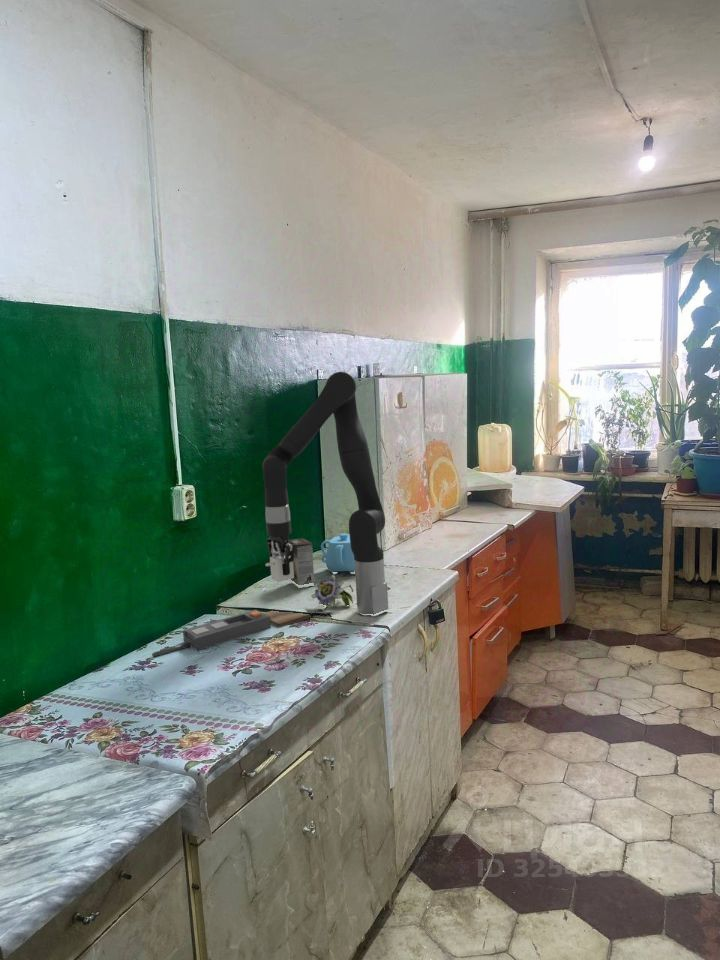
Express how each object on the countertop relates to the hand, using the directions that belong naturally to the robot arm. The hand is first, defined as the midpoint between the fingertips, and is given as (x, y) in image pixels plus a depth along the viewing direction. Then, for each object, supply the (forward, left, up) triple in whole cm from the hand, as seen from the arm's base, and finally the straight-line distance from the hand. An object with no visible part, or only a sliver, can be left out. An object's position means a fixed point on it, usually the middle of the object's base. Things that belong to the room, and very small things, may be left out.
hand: (282, 572), depth 213 cm
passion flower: (-2, -17, -15) cm, 23 cm away
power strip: (0, +26, -14) cm, 29 cm away
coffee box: (+25, -22, -15) cm, 36 cm away
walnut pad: (0, 0, -14) cm, 14 cm away
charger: (0, +1, -2) cm, 2 cm away
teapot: (+26, -44, -15) cm, 53 cm away
